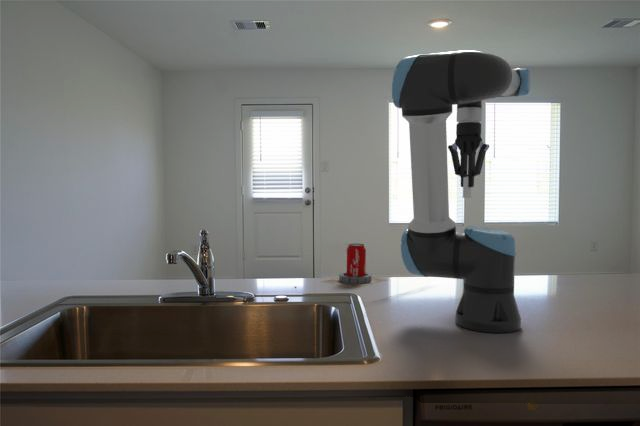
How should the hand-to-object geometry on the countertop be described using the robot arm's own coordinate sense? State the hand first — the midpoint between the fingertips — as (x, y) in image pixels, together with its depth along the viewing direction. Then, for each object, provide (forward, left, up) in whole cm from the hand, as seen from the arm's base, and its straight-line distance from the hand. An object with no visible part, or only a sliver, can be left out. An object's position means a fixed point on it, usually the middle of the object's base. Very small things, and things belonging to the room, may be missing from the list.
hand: (466, 197), depth 166 cm
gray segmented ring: (-19, +30, -28) cm, 45 cm away
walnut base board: (-19, +30, -29) cm, 46 cm away
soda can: (-19, +29, -28) cm, 45 cm away
